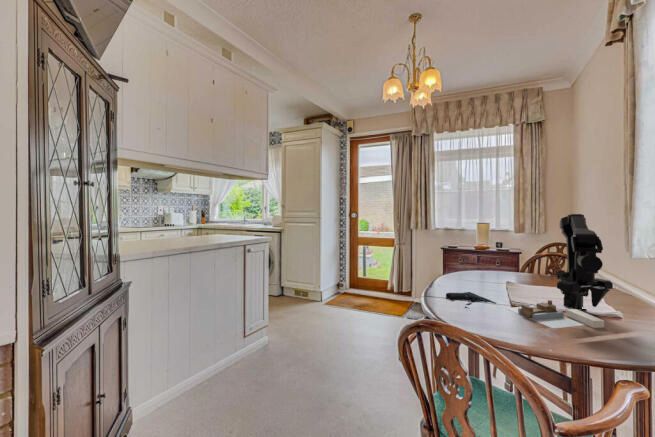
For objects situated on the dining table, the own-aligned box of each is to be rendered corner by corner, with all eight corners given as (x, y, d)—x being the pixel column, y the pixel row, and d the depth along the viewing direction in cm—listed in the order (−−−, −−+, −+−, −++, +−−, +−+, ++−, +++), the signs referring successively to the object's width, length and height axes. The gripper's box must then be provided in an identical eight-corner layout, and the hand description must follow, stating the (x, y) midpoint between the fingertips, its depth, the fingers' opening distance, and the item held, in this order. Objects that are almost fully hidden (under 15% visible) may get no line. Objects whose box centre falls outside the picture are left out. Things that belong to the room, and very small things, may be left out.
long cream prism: (575, 318, 118) (576, 309, 118) (604, 331, 106) (604, 320, 106) (565, 319, 118) (566, 309, 118) (593, 331, 106) (593, 320, 106)
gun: (479, 316, 126) (507, 311, 130) (479, 309, 125) (507, 305, 130) (442, 298, 148) (466, 294, 153) (442, 292, 148) (466, 289, 152)
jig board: (533, 308, 130) (533, 301, 130) (585, 328, 108) (585, 319, 108) (505, 310, 128) (505, 303, 128) (553, 331, 106) (553, 323, 106)
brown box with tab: (546, 312, 122) (546, 298, 122) (555, 315, 118) (556, 301, 118) (521, 314, 120) (521, 301, 120) (529, 318, 116) (529, 304, 116)
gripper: (583, 261, 121) (582, 299, 121) (544, 263, 117) (543, 302, 118) (614, 266, 110) (613, 308, 110) (571, 269, 107) (571, 312, 107)
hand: (584, 307), depth 112 cm, fingers open, 9 cm apart
